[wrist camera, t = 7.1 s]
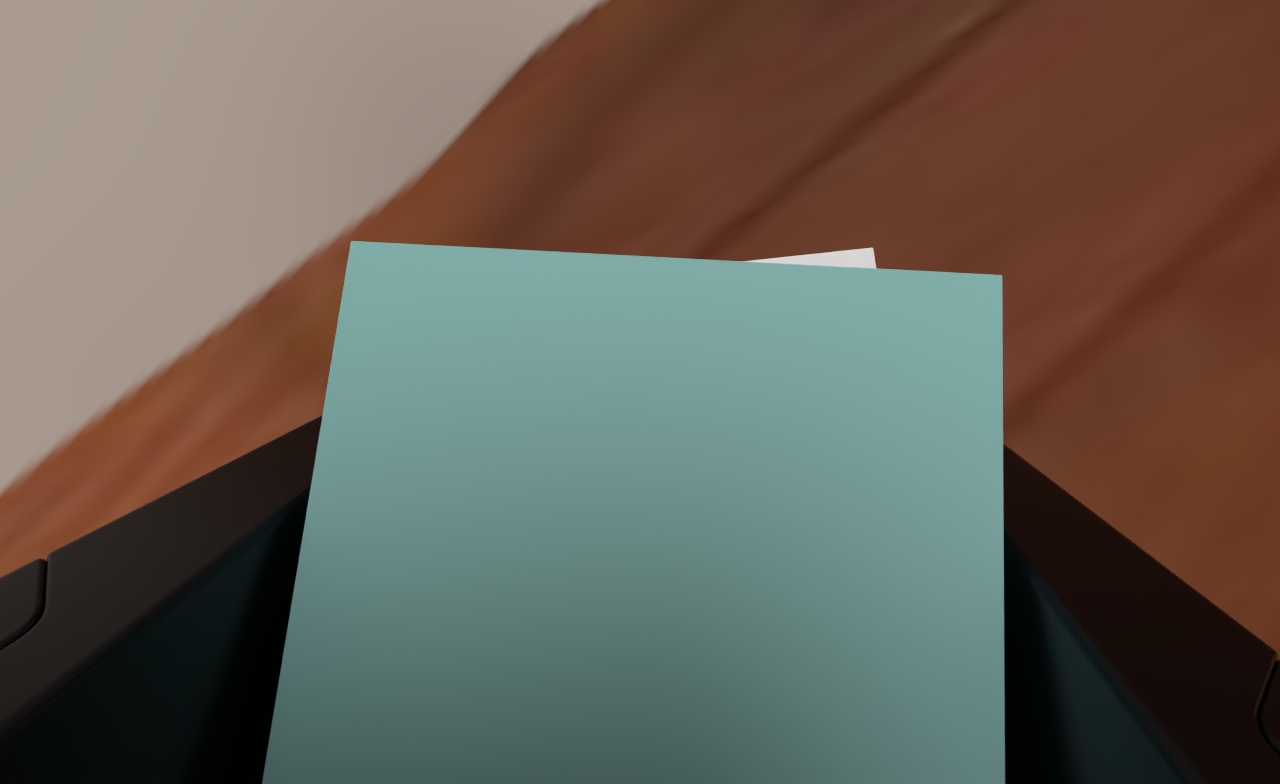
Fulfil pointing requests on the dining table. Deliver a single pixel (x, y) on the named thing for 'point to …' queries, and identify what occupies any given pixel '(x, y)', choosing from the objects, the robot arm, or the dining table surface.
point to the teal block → (650, 526)
